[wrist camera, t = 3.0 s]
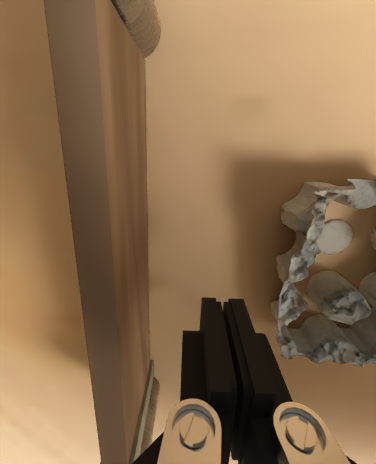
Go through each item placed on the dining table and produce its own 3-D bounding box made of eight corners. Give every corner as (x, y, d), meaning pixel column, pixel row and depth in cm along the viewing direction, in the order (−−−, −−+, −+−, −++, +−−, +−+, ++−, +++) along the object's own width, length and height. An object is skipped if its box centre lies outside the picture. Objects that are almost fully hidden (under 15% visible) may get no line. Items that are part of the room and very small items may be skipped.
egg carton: (281, 173, 14) (316, 182, 10) (415, 177, 14) (504, 188, 10) (258, 326, 17) (276, 378, 13) (364, 331, 17) (415, 385, 13)
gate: (151, 64, 11) (94, -44, 5) (153, 376, 18) (130, 503, 12) (117, 62, 11) (18, -47, 5) (132, 375, 18) (97, 501, 12)
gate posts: (160, -3, 11) (83, -342, 3) (159, 397, 19) (136, 557, 12) (108, -5, 11) (-86, -345, 3) (129, 395, 19) (88, 554, 12)
